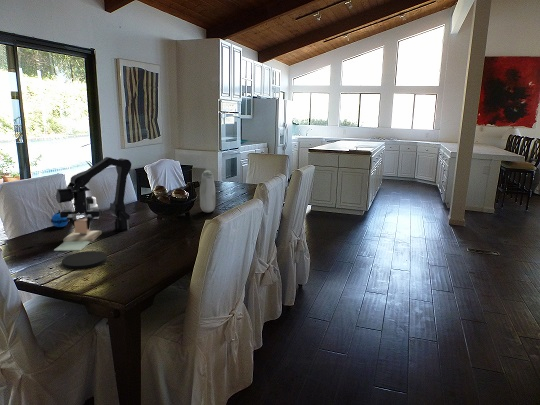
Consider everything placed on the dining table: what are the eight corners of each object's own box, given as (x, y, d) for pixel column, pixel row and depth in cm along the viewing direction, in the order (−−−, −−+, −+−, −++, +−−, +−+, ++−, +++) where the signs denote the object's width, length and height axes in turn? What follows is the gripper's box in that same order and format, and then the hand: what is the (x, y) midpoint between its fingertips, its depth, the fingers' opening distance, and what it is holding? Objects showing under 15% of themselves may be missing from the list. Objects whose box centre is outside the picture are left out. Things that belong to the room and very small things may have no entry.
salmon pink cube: (87, 232, 197) (85, 221, 196) (75, 233, 197) (74, 221, 195) (90, 229, 203) (89, 218, 201) (78, 229, 202) (77, 218, 201)
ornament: (52, 225, 219) (51, 208, 217) (69, 224, 222) (68, 207, 220) (51, 229, 211) (49, 212, 209) (68, 228, 215) (67, 211, 213)
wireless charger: (60, 272, 157) (60, 268, 157) (64, 257, 173) (63, 253, 173) (107, 267, 164) (107, 262, 164) (107, 253, 180) (106, 249, 180)
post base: (101, 233, 208) (100, 220, 206) (92, 241, 194) (91, 228, 193) (74, 233, 207) (73, 220, 205) (63, 241, 193) (62, 228, 191)
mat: (89, 242, 193) (89, 241, 193) (80, 250, 182) (80, 249, 182) (64, 242, 192) (64, 241, 192) (54, 250, 180) (53, 249, 180)
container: (85, 219, 232) (83, 198, 229) (84, 216, 239) (82, 196, 236) (99, 218, 236) (97, 197, 233) (98, 215, 242) (96, 195, 240)
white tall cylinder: (214, 214, 253) (213, 171, 247) (198, 213, 253) (198, 171, 247) (216, 210, 263) (216, 169, 256) (201, 210, 263) (201, 169, 257)
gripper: (103, 196, 205) (105, 224, 209) (65, 196, 202) (68, 225, 206) (97, 201, 195) (100, 230, 198) (58, 201, 191) (61, 231, 195)
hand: (82, 229), depth 199 cm, fingers closed on salmon pink cube, 6 cm apart
